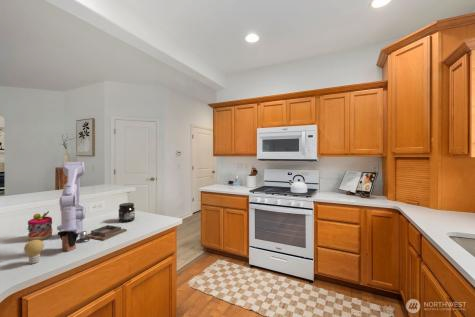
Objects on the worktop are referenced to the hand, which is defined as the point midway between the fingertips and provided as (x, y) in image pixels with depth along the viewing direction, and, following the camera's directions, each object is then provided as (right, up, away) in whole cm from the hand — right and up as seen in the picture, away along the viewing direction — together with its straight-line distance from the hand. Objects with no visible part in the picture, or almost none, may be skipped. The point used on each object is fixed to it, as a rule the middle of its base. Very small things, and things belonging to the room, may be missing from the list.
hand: (69, 245), depth 109 cm
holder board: (+6, -2, +21) cm, 22 cm away
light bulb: (-5, -3, -13) cm, 14 cm away
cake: (-28, -2, +15) cm, 32 cm away
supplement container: (+5, -1, +47) cm, 47 cm away
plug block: (0, -2, 0) cm, 2 cm away
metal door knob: (-1, -2, +11) cm, 11 cm away
